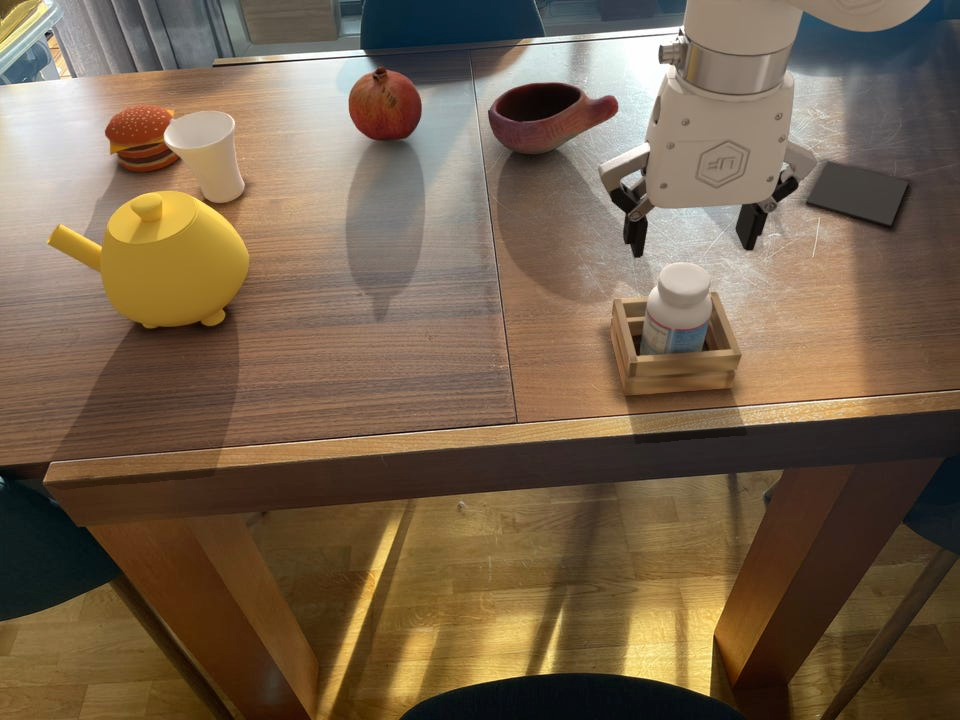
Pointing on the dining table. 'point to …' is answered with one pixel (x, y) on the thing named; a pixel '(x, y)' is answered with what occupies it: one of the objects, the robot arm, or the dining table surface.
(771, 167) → the robot arm
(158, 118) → the hamburger
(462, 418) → the dining table surface
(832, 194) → the plate
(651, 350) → the pill bottle
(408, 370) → the dining table surface
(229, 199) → the cup
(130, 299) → the teapot
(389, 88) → the fruit
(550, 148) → the bowl
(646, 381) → the crate
